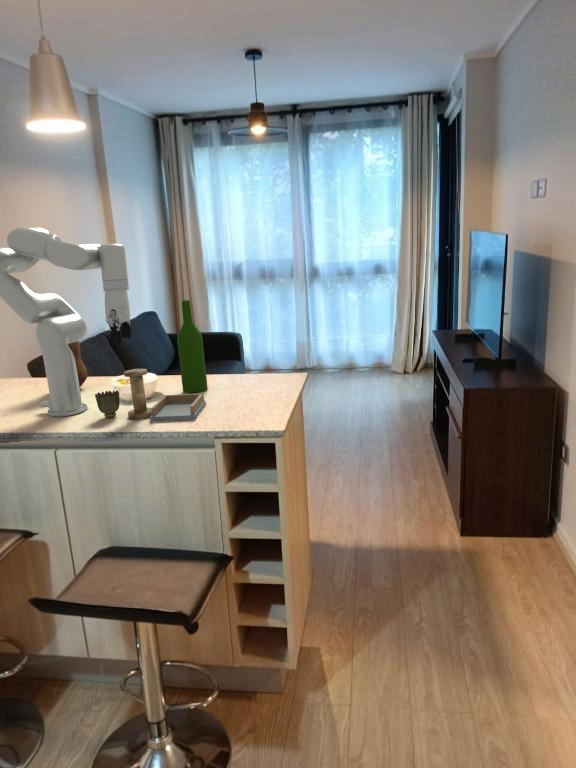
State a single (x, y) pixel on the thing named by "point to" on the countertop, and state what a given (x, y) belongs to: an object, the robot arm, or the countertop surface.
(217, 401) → the countertop surface
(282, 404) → the countertop surface
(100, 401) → the cup
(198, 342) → the wine bottle
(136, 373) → the bobbin post
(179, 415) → the wooden tray
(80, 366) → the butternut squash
